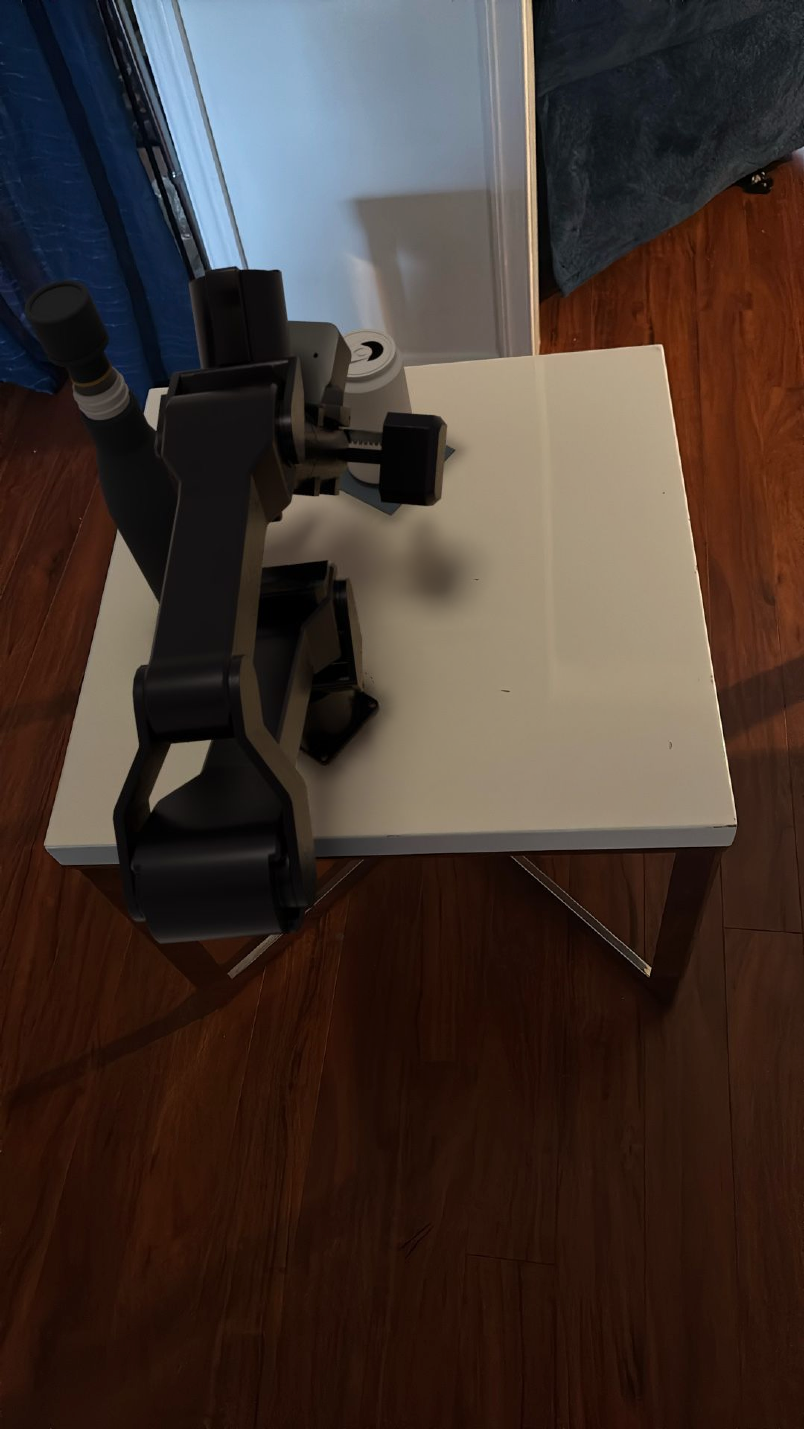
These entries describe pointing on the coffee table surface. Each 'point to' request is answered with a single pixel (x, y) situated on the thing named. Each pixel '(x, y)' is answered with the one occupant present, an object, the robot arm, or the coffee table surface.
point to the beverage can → (373, 389)
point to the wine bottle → (110, 424)
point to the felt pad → (371, 489)
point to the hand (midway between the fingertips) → (352, 454)
